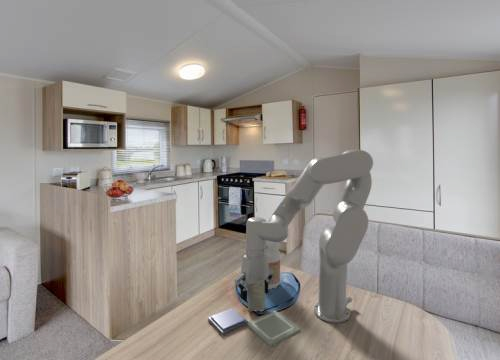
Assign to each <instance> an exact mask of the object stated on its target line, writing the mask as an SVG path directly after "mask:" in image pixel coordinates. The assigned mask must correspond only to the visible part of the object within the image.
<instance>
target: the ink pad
mask: <svg viewBox="0 0 500 360" xmlns="http://www.w3.org/2000/svg"><path fill="white" fill-rule="evenodd" d="M248 322H249V321H248V320H247V319H246V318H245V317H244V316H242V315H241V314H240V313H239V312H238V311H236V310H235V309H234V308H233V307H230V308H228V309H225V310H223V311H219V312H218V313H215V314H213V315H210V316H208V323H210V324H211V325H212V326H213V327H214V329H216V331H217V332H218V333H219V334H220V335H221V336H222V337H223V336H225V335H228V334H230V333H233V332H235V331H237V330H240V329H242V328H245V327H246V326H247V323H248Z"/></svg>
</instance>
